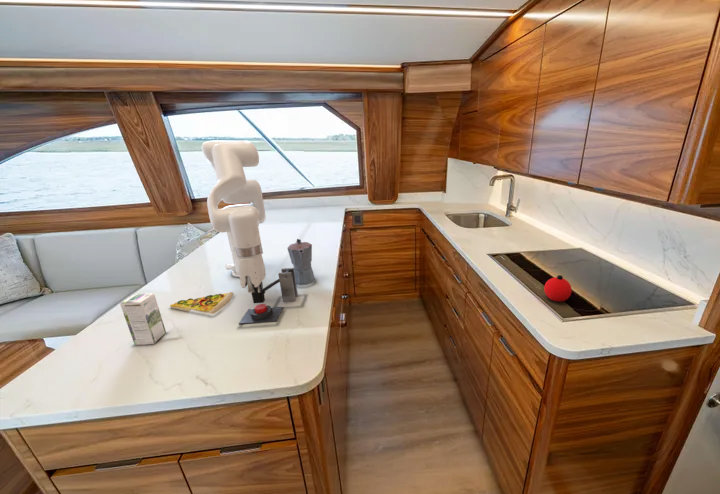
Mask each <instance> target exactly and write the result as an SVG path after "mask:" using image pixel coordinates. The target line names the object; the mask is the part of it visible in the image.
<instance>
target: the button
mask: <svg viewBox="0 0 720 494" xmlns="http://www.w3.org/2000/svg"><path fill="white" fill-rule="evenodd" d="M266 305H267V304H265V303H258V304H257V305H255V306H254V308H255V313H257V314H258V313H264V312H266V311H267V307H266Z"/></svg>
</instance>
